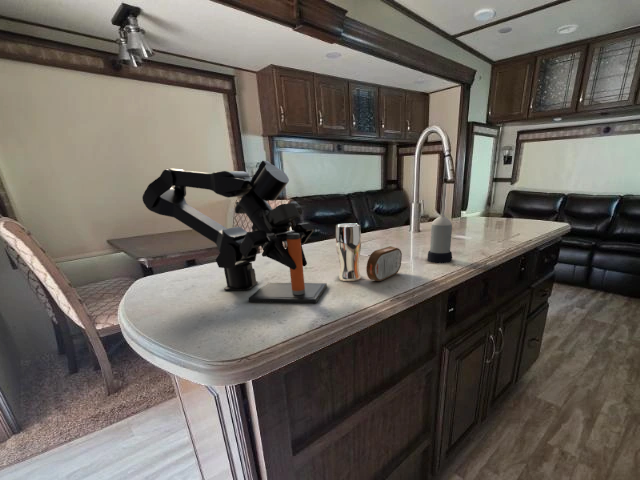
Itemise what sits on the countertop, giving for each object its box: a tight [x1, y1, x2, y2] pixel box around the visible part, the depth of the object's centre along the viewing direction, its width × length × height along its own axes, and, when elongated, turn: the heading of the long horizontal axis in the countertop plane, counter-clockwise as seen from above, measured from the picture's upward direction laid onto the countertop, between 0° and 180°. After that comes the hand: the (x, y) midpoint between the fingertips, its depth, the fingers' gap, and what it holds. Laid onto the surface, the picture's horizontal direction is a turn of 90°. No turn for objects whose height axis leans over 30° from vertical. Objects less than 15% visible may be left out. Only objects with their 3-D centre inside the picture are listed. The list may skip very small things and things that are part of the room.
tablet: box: [248, 282, 328, 304], centre depth 78 cm, size 16×12×1 cm
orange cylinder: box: [286, 233, 305, 295], centre depth 73 cm, size 3×3×14 cm
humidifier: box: [427, 182, 453, 264], centre depth 104 cm, size 8×8×25 cm
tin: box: [365, 245, 403, 282], centre depth 89 cm, size 15×3×8 cm, turn 144°
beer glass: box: [335, 222, 362, 282], centre depth 88 cm, size 7×7×15 cm
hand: (300, 266), depth 72 cm, fingers closed on orange cylinder, 3 cm apart
